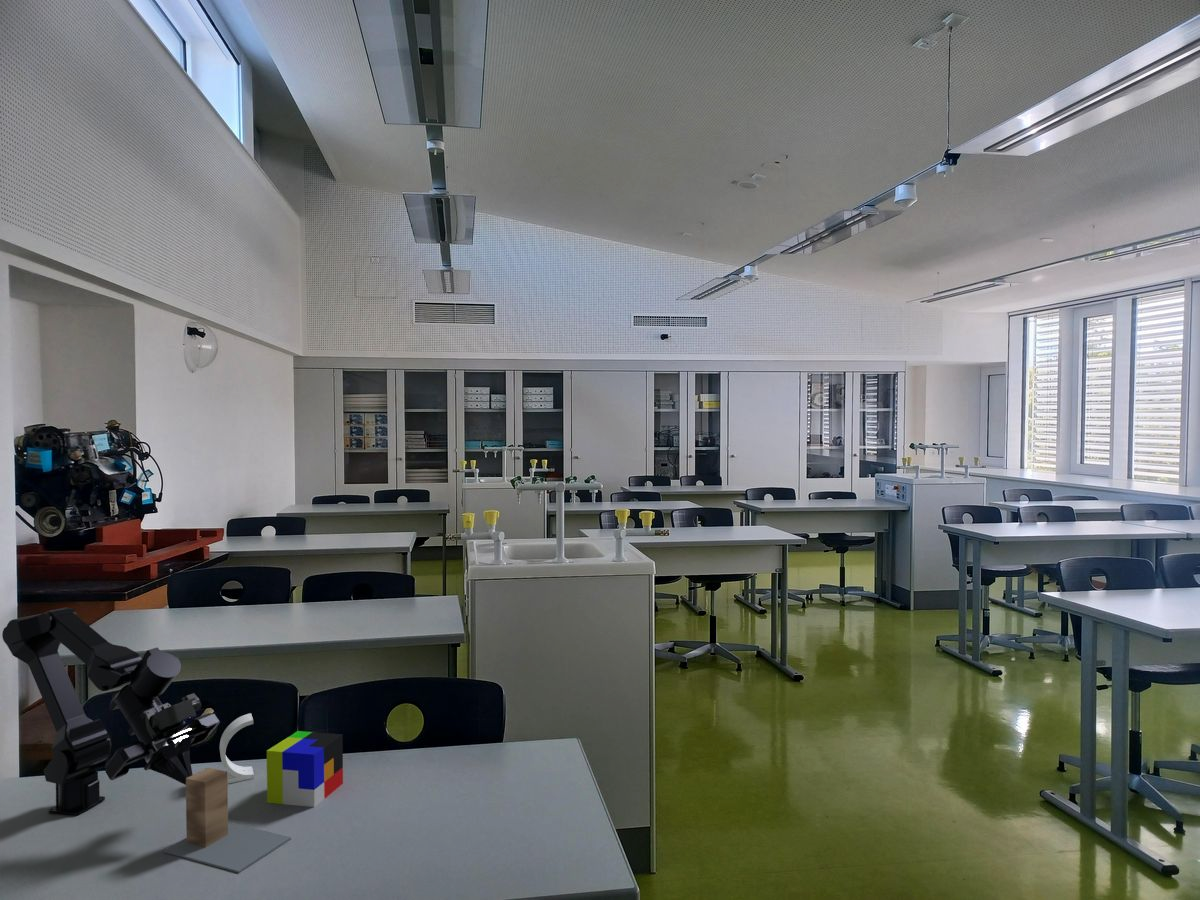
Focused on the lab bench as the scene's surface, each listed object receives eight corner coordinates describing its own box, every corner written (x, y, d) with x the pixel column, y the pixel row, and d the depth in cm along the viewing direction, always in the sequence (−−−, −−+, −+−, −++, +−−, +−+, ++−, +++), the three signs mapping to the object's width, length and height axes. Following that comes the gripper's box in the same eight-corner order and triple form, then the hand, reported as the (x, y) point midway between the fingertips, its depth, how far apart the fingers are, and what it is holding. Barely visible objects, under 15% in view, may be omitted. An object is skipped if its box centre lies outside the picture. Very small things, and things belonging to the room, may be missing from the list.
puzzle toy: (314, 807, 140) (313, 754, 140) (267, 802, 142) (266, 750, 142) (343, 783, 150) (342, 734, 150) (298, 779, 152) (297, 731, 152)
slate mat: (163, 852, 125) (163, 850, 125) (218, 821, 135) (218, 819, 135) (239, 872, 119) (238, 871, 119) (291, 838, 129) (291, 837, 129)
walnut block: (186, 842, 127) (185, 778, 127) (209, 829, 132) (208, 767, 132) (205, 847, 126) (205, 782, 126) (228, 834, 130) (227, 771, 130)
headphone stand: (253, 778, 153) (253, 720, 153) (221, 785, 150) (220, 725, 150) (251, 770, 157) (251, 713, 157) (219, 776, 154) (219, 718, 154)
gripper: (115, 701, 123) (164, 777, 119) (211, 669, 141) (257, 735, 137) (84, 742, 126) (130, 818, 122) (182, 706, 144) (225, 771, 140)
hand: (190, 783), depth 130 cm, fingers closed
